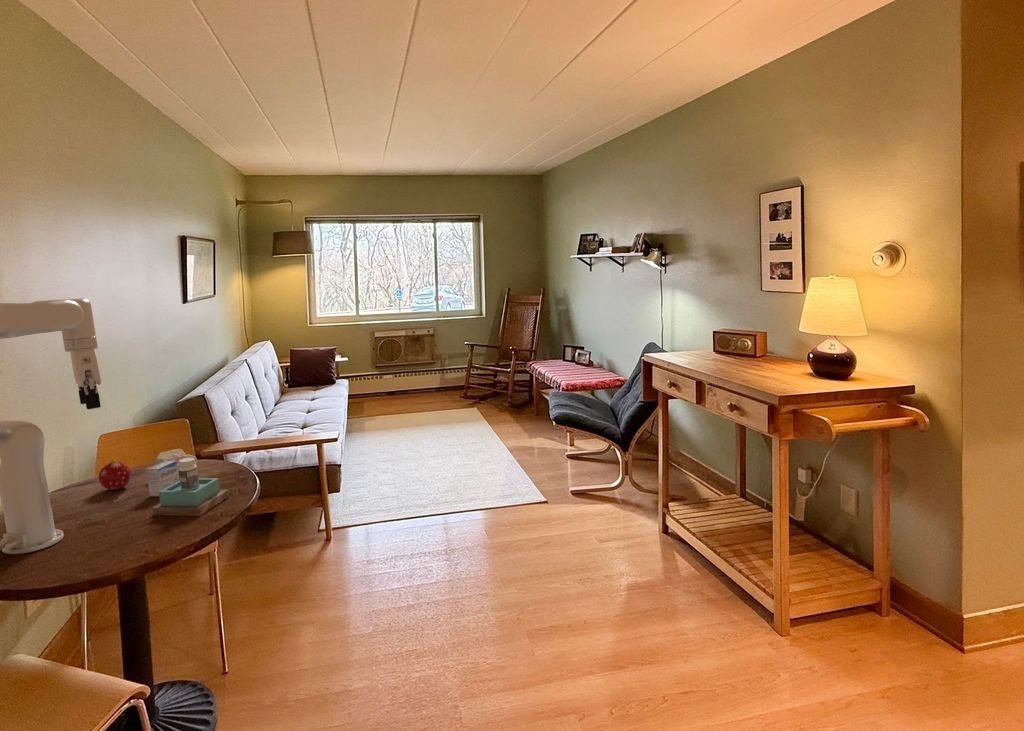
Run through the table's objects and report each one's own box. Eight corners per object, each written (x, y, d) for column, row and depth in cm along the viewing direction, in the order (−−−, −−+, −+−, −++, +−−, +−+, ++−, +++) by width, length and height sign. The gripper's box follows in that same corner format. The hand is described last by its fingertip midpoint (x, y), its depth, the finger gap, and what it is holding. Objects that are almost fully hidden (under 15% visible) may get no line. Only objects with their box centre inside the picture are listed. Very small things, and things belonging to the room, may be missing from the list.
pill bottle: (178, 488, 183) (174, 460, 181) (195, 484, 186) (191, 456, 185) (185, 492, 180) (181, 463, 178) (202, 487, 183) (198, 458, 182)
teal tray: (197, 505, 177) (195, 492, 176) (160, 505, 179) (158, 491, 178) (220, 491, 188) (218, 478, 187) (185, 491, 189) (183, 478, 189)
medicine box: (162, 497, 191) (158, 469, 190) (149, 496, 192) (145, 468, 191) (180, 487, 199) (177, 460, 198) (168, 487, 200) (164, 460, 199)
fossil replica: (204, 470, 216) (181, 470, 219) (201, 445, 216) (178, 446, 219) (175, 479, 205) (151, 479, 208) (172, 453, 204) (148, 454, 207)
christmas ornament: (95, 494, 196) (89, 463, 194) (110, 485, 204) (105, 454, 203) (124, 493, 196) (119, 461, 195) (138, 483, 205) (133, 453, 203)
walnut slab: (200, 518, 176) (198, 508, 175) (154, 517, 178) (152, 507, 177) (229, 499, 189) (228, 489, 189) (186, 498, 191) (185, 489, 191)
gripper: (102, 345, 171) (112, 407, 174) (91, 340, 184) (100, 399, 187) (69, 348, 166) (79, 413, 169) (59, 343, 179) (69, 403, 182)
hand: (90, 405), depth 178 cm, fingers open, 9 cm apart
